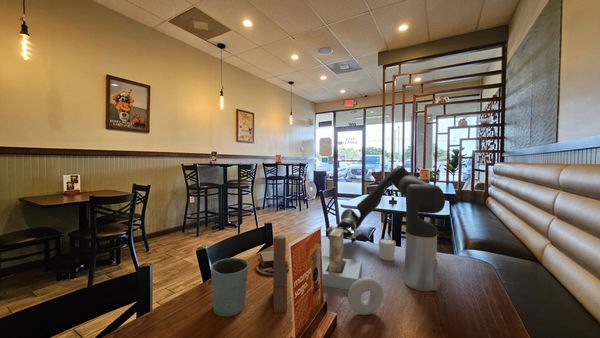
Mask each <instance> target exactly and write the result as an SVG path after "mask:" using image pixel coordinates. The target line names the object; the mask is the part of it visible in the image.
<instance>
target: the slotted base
mask: <svg viewBox="0 0 600 338" xmlns="http://www.w3.org/2000/svg"><path fill="white" fill-rule="evenodd" d="M321 256H322V266H323V285H324V286H323V287H328V288H334V289H339V290H345V291H349V289H350V287H351V286H352V284H353V283H354V282H355V281H357V280H358V279H360V278H362V277H361V276H362V268H363V267H362V266H363V265H362V264H363V261H362V260H357V259H350V258H348V259H347V258H343V273H342V274H340V273H334V272H329V256H328V255H321Z"/></svg>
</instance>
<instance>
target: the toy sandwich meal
mask: <svg viewBox="0 0 600 338" xmlns="http://www.w3.org/2000/svg"><path fill="white" fill-rule="evenodd" d="M257 261H258V262H259V263H258V264H256V266H255V268H256V270H257V272H259V273H260V274H262V275H265V276H270V277H271V276H273V272H274V250H266V251H265V250H264V251H262V252H259V257H258V258H257ZM285 261H287V259H285ZM289 265H290V264H289V262H288V261H287V271H288V270H290V267H289Z"/></svg>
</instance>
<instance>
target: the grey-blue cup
mask: <svg viewBox="0 0 600 338" xmlns="http://www.w3.org/2000/svg"><path fill="white" fill-rule="evenodd" d="M210 274H211V275H210V277H211V285H212V287H211V288H212V290H211V291H212V309H213V312H214V314H216V315H217V316H220V317H231V316H234V315H238V314H240V313H241V312H242V311H243V310H244V308H245V307H246V299H247V286H248V285H247V284H248V283H247V281H248V274H249V261H247V260H245V259H243V258H239V257H238V258H237V257H229V258H223V259H220V260H217V261H215V262H213V263H212V264H211V266H210Z"/></svg>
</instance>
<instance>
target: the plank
mask: <svg viewBox="0 0 600 338" xmlns="http://www.w3.org/2000/svg"><path fill="white" fill-rule="evenodd" d="M332 229H333V231H332V232H331V234H330V238H329V239H328V240H329V243H328V244H329V249H328V250H329V251H328V253H329V254H328V255H329V256H328V257H329V272H334V273H340V274H342V273H343V259H344V239H343V233H344V229H336V228H332Z"/></svg>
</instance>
